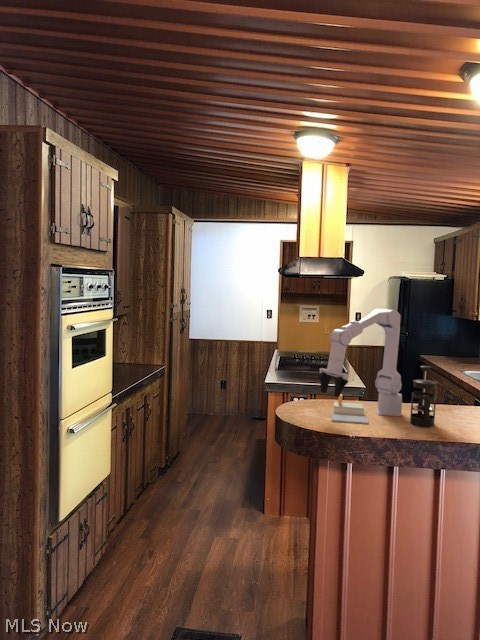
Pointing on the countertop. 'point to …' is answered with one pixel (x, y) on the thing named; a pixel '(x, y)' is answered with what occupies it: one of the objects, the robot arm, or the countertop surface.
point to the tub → (348, 411)
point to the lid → (347, 405)
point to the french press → (423, 403)
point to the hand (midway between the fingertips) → (330, 394)
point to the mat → (349, 418)
